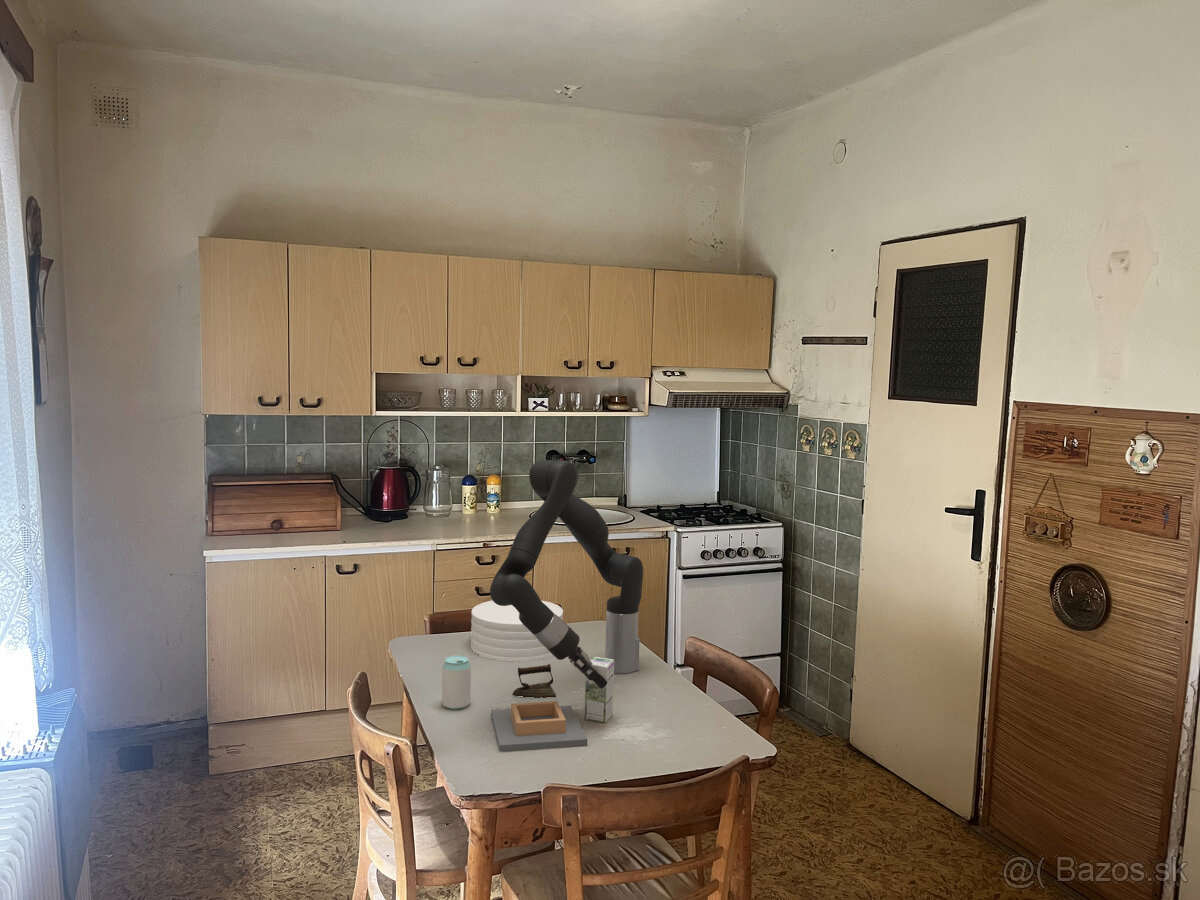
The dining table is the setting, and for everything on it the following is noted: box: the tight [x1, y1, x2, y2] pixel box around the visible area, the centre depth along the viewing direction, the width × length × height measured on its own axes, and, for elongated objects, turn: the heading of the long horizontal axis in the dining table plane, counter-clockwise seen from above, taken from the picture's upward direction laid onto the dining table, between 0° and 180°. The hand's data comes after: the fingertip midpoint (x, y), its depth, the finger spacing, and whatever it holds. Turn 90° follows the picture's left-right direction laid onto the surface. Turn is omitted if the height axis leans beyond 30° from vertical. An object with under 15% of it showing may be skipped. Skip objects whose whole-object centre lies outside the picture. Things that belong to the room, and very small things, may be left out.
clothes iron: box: [511, 663, 557, 699], centre depth 221 cm, size 7×11×10 cm, turn 106°
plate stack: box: [470, 599, 564, 662], centre depth 260 cm, size 28×28×12 cm
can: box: [441, 655, 472, 710], centre depth 213 cm, size 7×7×12 cm
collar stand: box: [490, 700, 588, 752], centre depth 199 cm, size 20×20×4 cm
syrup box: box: [583, 656, 615, 724], centre depth 207 cm, size 6×6×14 cm
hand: (600, 679), depth 207 cm, fingers open, 8 cm apart
